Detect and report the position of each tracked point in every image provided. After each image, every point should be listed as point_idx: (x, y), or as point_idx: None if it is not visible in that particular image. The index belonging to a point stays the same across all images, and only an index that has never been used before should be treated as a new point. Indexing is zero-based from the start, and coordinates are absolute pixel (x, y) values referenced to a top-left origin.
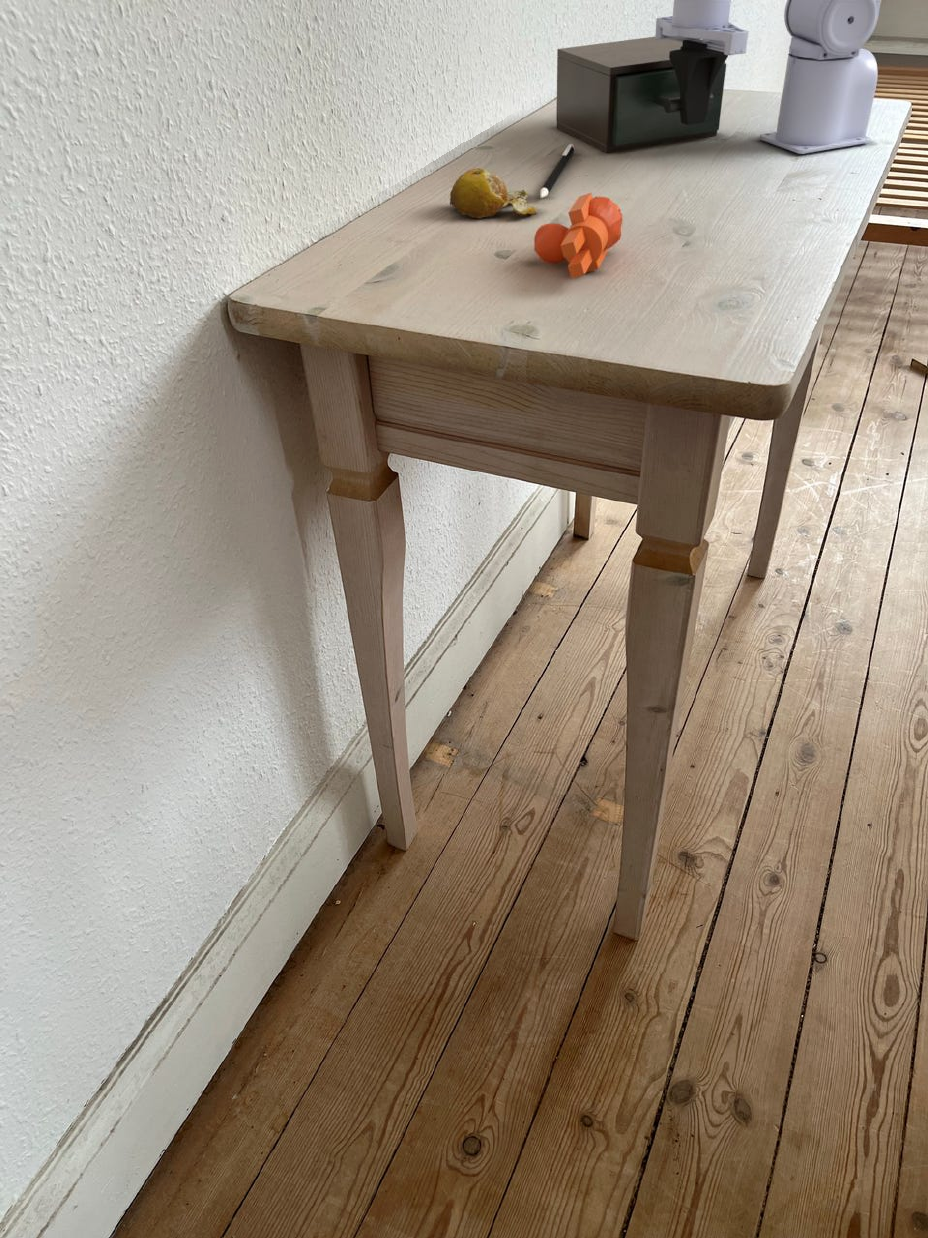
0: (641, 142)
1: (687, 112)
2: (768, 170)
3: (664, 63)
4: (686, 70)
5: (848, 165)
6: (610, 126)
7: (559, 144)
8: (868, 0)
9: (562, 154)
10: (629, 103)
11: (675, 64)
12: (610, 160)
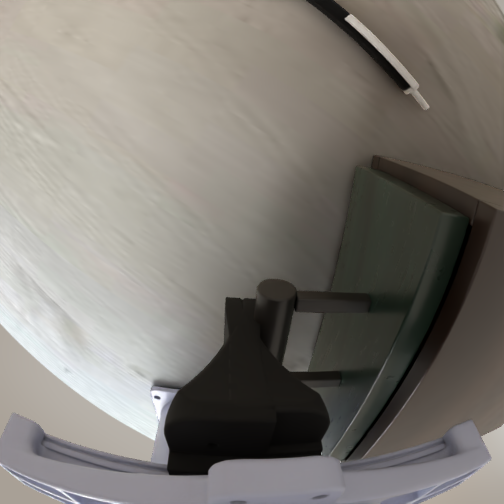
0: None
1: (225, 311)
2: (102, 320)
3: (407, 388)
4: (197, 376)
5: (96, 387)
6: (396, 172)
7: (470, 130)
8: None
9: (352, 15)
10: (389, 224)
11: (275, 384)
12: (321, 126)
